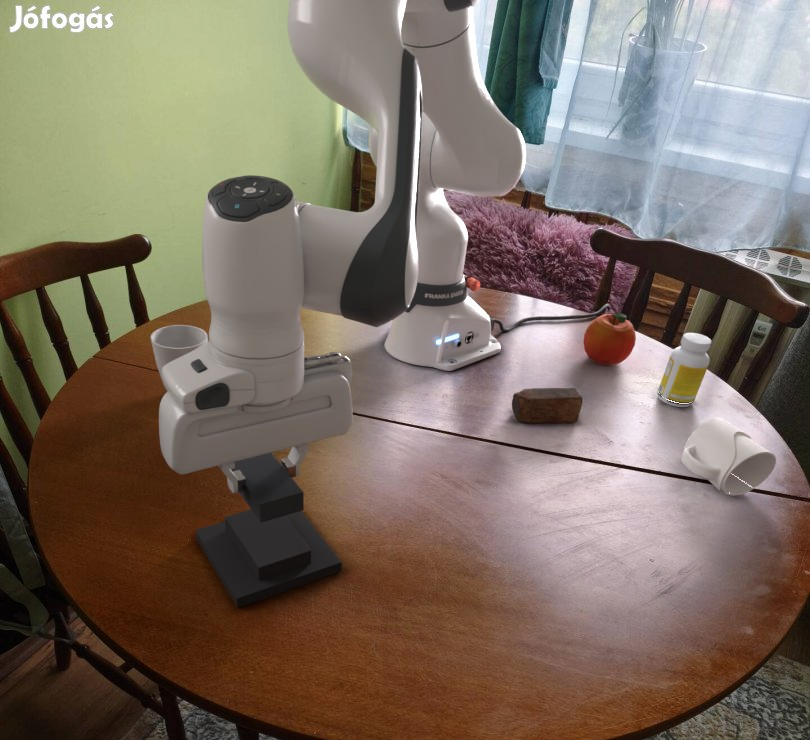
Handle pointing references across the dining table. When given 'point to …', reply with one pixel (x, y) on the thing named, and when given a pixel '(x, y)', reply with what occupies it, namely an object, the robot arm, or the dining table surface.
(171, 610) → the dining table surface
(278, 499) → the top pad
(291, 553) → the medium pad
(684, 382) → the pill bottle
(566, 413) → the brick
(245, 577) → the base pad
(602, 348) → the fruit
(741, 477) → the mug
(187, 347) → the cup
